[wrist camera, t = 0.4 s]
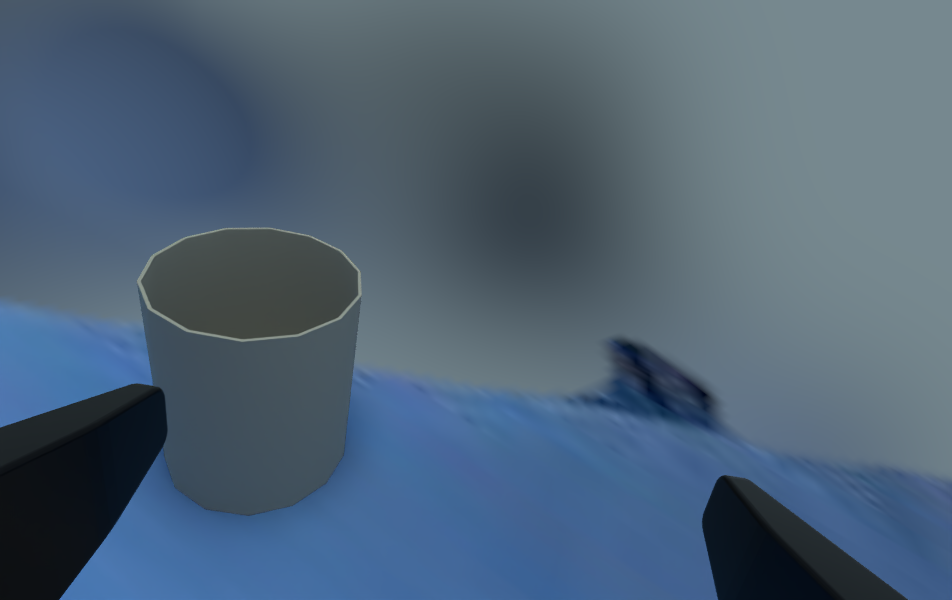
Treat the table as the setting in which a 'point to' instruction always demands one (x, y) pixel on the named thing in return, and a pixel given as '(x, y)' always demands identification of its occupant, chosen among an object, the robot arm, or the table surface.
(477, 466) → the table surface
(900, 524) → the table surface
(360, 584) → the table surface
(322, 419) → the cup
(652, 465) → the table surface
